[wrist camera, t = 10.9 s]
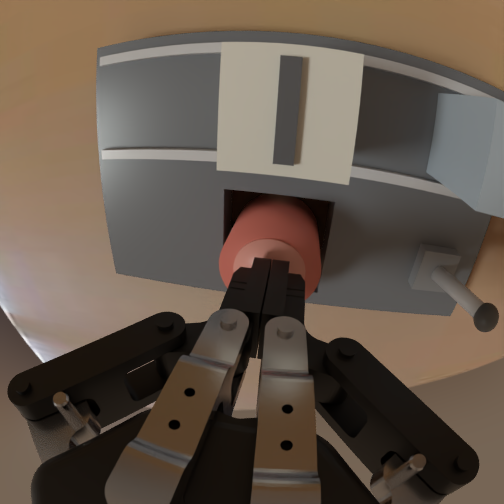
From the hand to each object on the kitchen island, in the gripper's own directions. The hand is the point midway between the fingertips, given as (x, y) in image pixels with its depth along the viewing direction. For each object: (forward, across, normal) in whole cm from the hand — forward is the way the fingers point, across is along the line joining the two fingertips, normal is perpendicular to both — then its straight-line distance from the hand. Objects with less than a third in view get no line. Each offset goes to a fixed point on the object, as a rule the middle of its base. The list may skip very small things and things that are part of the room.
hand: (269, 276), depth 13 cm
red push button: (+5, 0, 0) cm, 5 cm away
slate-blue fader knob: (+3, -9, -7) cm, 12 cm away
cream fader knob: (+3, 0, -7) cm, 8 cm away
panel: (+5, -1, -4) cm, 6 cm away
